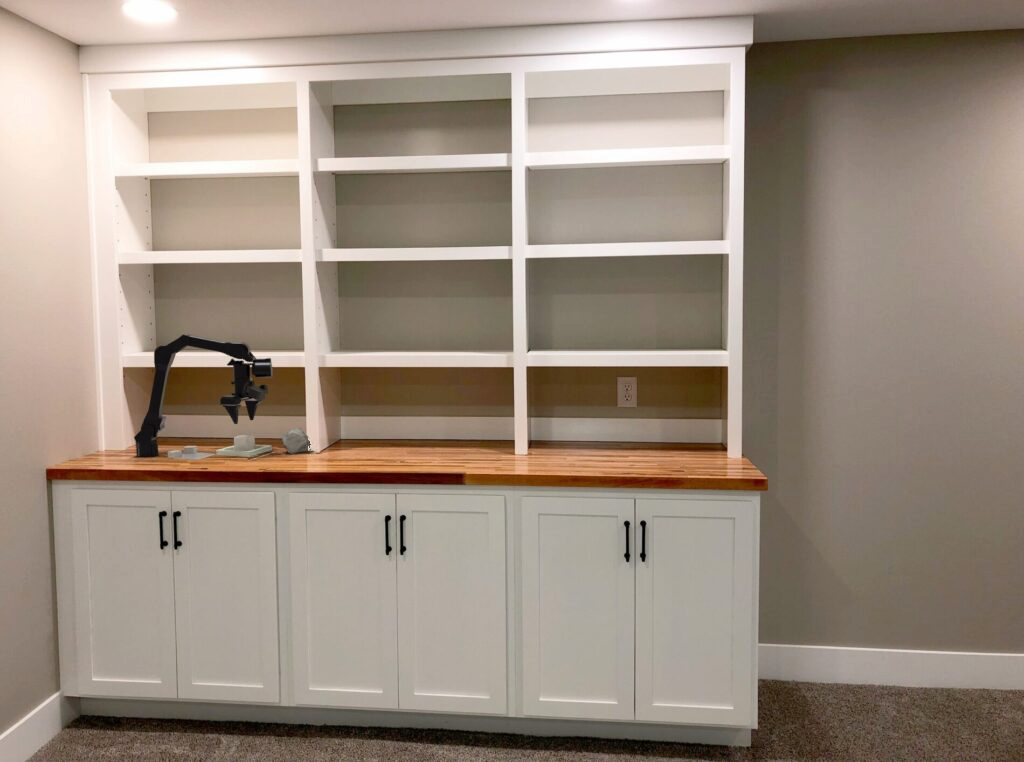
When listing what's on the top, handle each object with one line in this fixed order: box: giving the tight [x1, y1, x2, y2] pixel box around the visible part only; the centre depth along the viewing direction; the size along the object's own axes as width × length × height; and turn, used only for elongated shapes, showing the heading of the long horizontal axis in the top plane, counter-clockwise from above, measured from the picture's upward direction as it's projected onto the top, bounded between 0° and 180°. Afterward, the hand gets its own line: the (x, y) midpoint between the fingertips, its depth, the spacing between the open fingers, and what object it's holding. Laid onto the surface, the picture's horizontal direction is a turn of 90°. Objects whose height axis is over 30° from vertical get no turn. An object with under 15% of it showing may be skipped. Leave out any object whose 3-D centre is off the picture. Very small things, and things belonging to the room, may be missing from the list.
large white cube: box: [233, 434, 256, 451], centre depth 298 cm, size 5×5×6 cm
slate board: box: [167, 445, 216, 461], centre depth 292 cm, size 13×12×3 cm
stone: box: [281, 427, 311, 455], centre depth 302 cm, size 10×10×10 cm
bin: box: [215, 444, 273, 460], centre depth 298 cm, size 14×14×2 cm
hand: (243, 422), depth 297 cm, fingers open, 9 cm apart
